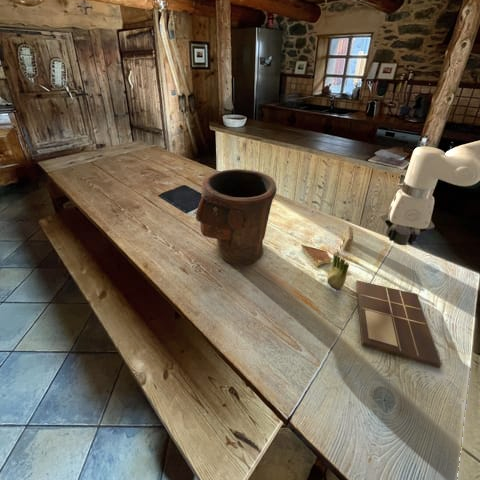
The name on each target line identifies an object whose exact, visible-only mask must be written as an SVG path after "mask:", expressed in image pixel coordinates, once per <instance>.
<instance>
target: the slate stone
mask: <svg viewBox="0 0 480 480" xmlns="http://www.w3.org/2000/svg"><path fill="white" fill-rule="evenodd" d="M411 234H412V232H411V230H410V229H409V228H408V227H407V226H403V225H397V226H396V228H395V235H394V238H393V241H392V242H393V243H394V244H395V245H399V246H407V245H409V240H410V237H411Z"/></svg>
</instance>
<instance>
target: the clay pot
mask: <svg viewBox="0 0 480 480" xmlns="http://www.w3.org/2000/svg"><path fill="white" fill-rule="evenodd" d="M277 190H278V189H277V183H276V181H275V179H274V178H273V177H272V176H270V175H269V174H267V173H264V172H262V171H258V170H251V169H244V168H243V169H241V168H231V169H224V170H219V171H216V172H213V173H211V174H209V175H207V176H206V177H204V180H203V182H202V184H201V198H200V201H199V204H198V206H197V209H196V214H195V219H196V221H197V222H199V224H200V225H199V227H200V233H201V234H202V236H204V237H205V238H210V239H215V240H216V245H217V248H216V252H217V254H218V256H219V257H220V259H221V260H223V261H224V262H225V263H228V264H230V265H233V266H246V265H251V264H254V263H255V262H256V261H258V260H260V259H262V256H263V255H264V247H263V245H264V239H265V237H266V232H267V226H268V221H269V217H270V213H271V207H272V204H273V200H274V199H275V196H276V194H277Z"/></svg>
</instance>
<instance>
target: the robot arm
mask: <svg viewBox="0 0 480 480" xmlns="http://www.w3.org/2000/svg"><path fill="white" fill-rule="evenodd" d="M438 180H440V181H442V182H446V183H448V184H452V185H455V186H458V187H470V186H473V185H476V184H478V183H479V182H480V140H477V141H473V142H469V143H465V144H461V145H458V146H455V147H453V148H451V149H448V150H447V151H446V152H445V151H444V150H442V149H440V148H436V147H433V146H427V145H426V146H418V147H416V148H415V149H414V150H413V152H412V154H411V157H410V161H409V164H408V168H407V171H406V173H405V175H404V179H403V180H402V182H398V183H397V184H396V188H397V189H398V190H397V192H396V193H395V195H394V196H393V199H392V202H391V204H390V206H389V209H387V210H386V211H384V212H383V213H381V214H380V215H379V218H380V219H381V220H382V221H383V222H384V223H385V225H387V227H388V229H387V231H386V237H388V239H389V241H390V242H393V238H394V235H395V228H396V226H403V227H407V228H408V227H409V228H411V229H410V230H411V232H412V234H411V237H410V240H409V243H408V245H411V246H412V245H413V243H414V242H416V240H417V237H418V236H419V235H420V234H421V233H423V232H425V231H427V230H430V229H434V228H435V225H434V223H433V220H432V215H433V211H434V206H435V197H434V196H433V194H434V191H435V188H436V187H437V184H438ZM388 217H389V218H388Z"/></svg>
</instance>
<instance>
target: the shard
mask: <svg viewBox="0 0 480 480" xmlns="http://www.w3.org/2000/svg"><path fill="white" fill-rule="evenodd" d="M300 246H301V249H302V250H303V251H304V252H305V253H306V254H307V255H308V256H309V258H311V260H312V261H313V262H314V263H315V265H316V266H317V267H319V266H322V265H323V264H330V262H331V261H333V257H331V256H330V255H329V253H328V251H325V250H323V249H319V248H316V247H312V246H307V245H304V244H300Z"/></svg>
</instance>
